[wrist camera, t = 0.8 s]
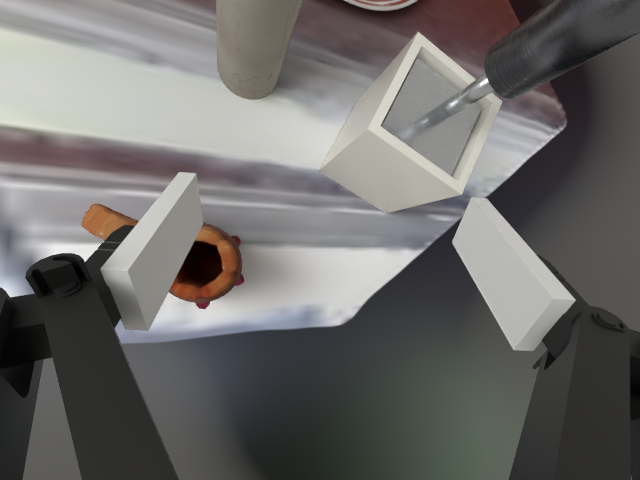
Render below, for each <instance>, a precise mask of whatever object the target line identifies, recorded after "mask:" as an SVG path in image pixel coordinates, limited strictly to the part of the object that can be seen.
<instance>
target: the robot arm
mask: <svg viewBox="0 0 640 480" xmlns="http://www.w3.org/2000/svg"><path fill="white" fill-rule="evenodd" d="M202 225H203V217H202V210H201V203H200V196H199V189H198V181H197V174H196V173H184V172H179V173H178V174H177V175H176V177H175V178H174V179H173V180H172V182H171V183H170V184H169V185H168V187H167V188H166V189H165V190H164V191H163V193H162V194H161V195H160V196H159V198H158V199H157V200H156V201H155V202H154V204H153V205H152V206H151V207H150V209H149V210H148V211H147V212H146V214H145V215H144V216H143V217H142V218H141V220H140V221H139V222H138V223H137V225H136V226H134V225H123V226H122V227H120V228H118V229H117V230H115V231H113V232H112V233H111V234H110V235H109V236H108V237H107V238H106V240H105V241H104V243H102V244H101V245H100V246H99V247H98V250H96V251H95V252H94V253H93V254H92V255H91V256H90V257H89V259H88V260H87V261H86V262H84V260H83V259H82V258H81V257H80V256H79V255H76V254H72V253H62V254H57V255H52V256H49V257H47V258H44V259H41V260H40V261H38V262H36V263H35V264H33V265H32V266H31V267H30V268H29V269H28V270H27V272H26V277H25V278H26V279H27V281H28V282H29V284H30V286H31V287H32V289H33V291H34V292H35V294H30V295H24V296H17V297H11V298H10V297H9V295H8V294H7V292H6V291H5V290H3V289H2V288H0V480H22V479H23V473H24V467H25V461H26V455H27V450H28V444H29V439H30V433H31V428H32V422H33V416H34V411H35V405H36V399H37V394H38V388H39V382H40V377H41V371H42V365H43V359H47V358H51V357H53V361H54V365H55V369H56V373H57V377H58V382H59V386H60V390H61V394H62V398H63V402H64V407H65V410H66V415H67V419H68V423H69V427H70V431H71V436H72V439H73V444H74V448H75V452H76V456H77V460H78V465H79V469H80V473H81V477H82V480H179V479H178V476H177V474H176V472H175V469H174V467H173V465H172V462H171V460H170V457H169V455H168V453H167V451H166V448H165V446H164V443H163V441H162V439H161V436H160V434H159V432H158V430H157V427H156V425H155V422H154V420H153V418H152V415H151V413H150V411H149V408H148V406H147V404H146V401H145V399H144V397H143V394H142V392H141V390H140V388H139V385H138V383H137V380H136V378H135V376H134V373H133V371H132V369H131V366H130V364H129V362H128V359H127V357H126V355H125V352H124V350H123V348H122V345H121V343H120V341H119V338H118V336H117V333H116V331H115V329H114V328H115V327H116V325H117V324H118V322H119V320H120V319H121V321H122V323H123V325H124V328H125V329H126V330H145V331H148V330H149V328H150V327H151V325H152V323H153V321H154V319H155V317H156V315H157V313H158V311H159V309H160V307H161V305H162V303H163V301H164V299H165V297H166V295H167V293H168V291H169V290H170V288H171V286H172V284H173V282H174V280H175V278H176V276H177V274H178V272H179V270H180V268H181V266H182V264H183V262H184V260H185V258H186V256H187V254H188V253H189V251H190V249H191V247H192V245H193V243H194V241H195V239H196V237H197V235H198V233H199V231H200V229H201V227H202ZM452 243H453V245H454V247H455V248H456V250H457V252H458V253H459V255H460V257H461V259H462V261H463V262H464V264H465V266H466V268H467V269H468V271H469V273H470V274H471V276H472V278H473V280H474V281H475V283H476V285H477V287H478V289H479V290H480V292H481V294H482V296H483V297H484V299H485V301H486V303H487V304H488V306H489V308H490V310H491V311H492V313H493V315H494V317H495V318H496V320H497V322H498V324H499V325H500V327H501V329H502V331H503V332H504V334H505V336H506V338H507V339H508V341H509V343H510V345H511V346H512V348H513V350H523V351H534V349H535V348H536V347H537V346H538V345H539V343H540V342H541V341H543V343H544V344H545V346H546V347H547V349H548V350H547V351H546V352H545V353H544V354H543V355H542V356H541V357H540V359H539V360H538V361H537V362H536V363H535V364H534V366H533V368H534V369H536V368H537V367H538V366H540V367H539V371H538V374H537V378H536V381H535V385H534V389H533V392H532V396H531V400H530V404H529V407H528V411H527V415H526V418H525V422H524V425H523V429H522V433H521V437H520V440H519V444H518V448H517V451H516V455H515V459H514V462H513V466H512V470H511V474H510V477H509V480H631V477H632V480H640V332H637V331H634V330H631V329H628V327H627V326H626V325H625V324H624V322H623V321H622V320H620V319H619V318H618V317H617V316H615V315H614V314H612V313H610V312H608V311H606V310H604V309H601V308H598V307H593V306H589V305H588V304H587V303H586V302H585V301H584V300H583V298H582V297H581V296H580V295H579V294H578V293H577V292H576V291H575V290H574V288H572V287H571V285H570V284H569V283H568V282H566V281H565V279H564V278H563V276H562V275H561V274H559V272H558V271H557V270H556V269H555V268H554V267H553V266H552V264H551V263H550V262H548V261H547V260H545V259H544V258H542V257H541V256H540V255H536V254H535V253H534V252H533V251H532V250H531V249H530V247H529V246H528V245H527V244H526V243H525V242H524V241H523V240H522V238H521V237H520V236H519V235H518V234H517V233H516V231H515V230H514V229H513V228H512V227H511V226H510V225H509V223H508V222H507V221H505V219H504V218H503V217H502V215H501V214H500V213H499V212H498V211H497V210H496V209H495V208H494V206H493V205H492V204H491V203H490V202H489V201H488V200H487V199H486V198H474V197H471V200H470V202H469V204H468V207H467V209H466V211H465V213H464V216H463V218H462V220H461V223H460V225H459V227H458V230H457V232H456V234H455V237H454V239H453V241H452Z"/></svg>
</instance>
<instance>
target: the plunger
mask: <svg viewBox="0 0 640 480" xmlns="http://www.w3.org/2000/svg"><path fill="white" fill-rule="evenodd" d="M639 33H640V0H552V1H551V2H549V3H548V4H547V5H545V6H544V7H543V8H541V9H540V10H539V11H538V12H536V13H535V14H534V15H532V16H531V17H530V18H528V19H527V20H526V21H525V22H523V23H522V24H521V25H519V26H518V27H517V28H515V29H514V30H513V31H512V32H510V33H509V34H508V35H506V36H505V37H504V38H502V39H501V40H500V41H499V42H497V43H496V44H495V45H493V46H492V47H491V48H490V49H489V51H488V52H487V55H486V58H485V74H484V75H482V76H481V77H479V78H478V79H476V80H475V81H474V82H472V83H471V84H469V85H468V86H466V87H465V88H463V89H462V90H460V91H459V90H458V89H457V88H455V87H454V86H453V85H452V84H450V83H449V82H448V81H447V80H445V79H444V78H443V77H442V76H441V75H439V74H438V73H437V72H436V71H434V70H433V69H432V68H431V67H429V66H428V65H427V64H426V63H424V62H423V61H422V60H421V59H419V58H418V57H417V58H416V59H415V60H414V62H413V64H412V66H411V68H410V70H409V71H408V73H407V75H406V77H405V79H404V81H403V83H402V85H401V87H400V89H399V91H398V93H397V95H396V97H395V99H394V101H393V103H392V104H391V106H390V108H389V110H388V112H387V114H386V116H385V118H384V120H383V122H382V124H381V127H382V128H384V129H385V130H387V131H388V132H389V133H391V134H392V135H394V136H395V137H396V138H398V139H399V140H401V141H402V142H403V143H405V144H406V145H408V146H409V147H410V148H412V149H413V150H415V151H416V152H417V153H419V154H420V155H422V156H423V157H425V158H426V159H427V160H429V161H430V162H432V163H433V164H434V165H436V166H437V167H439V168H440V169H441V170H443V171H444V172H446V173H447V174H448V175H450V176H451V175H452V173H453V170H454V168H455V166H456V164H457V162H458V159H459V157H460V155H461V153H462V150H463V148H464V146H465V144H466V142H467V139H468V137H469V135H470V133H471V131H472V128H473V126H474V124H475V122H476V119H477V117H478V115H479V113H480V111H481V108H480V107H479V106H478V105H477V104H475V102H476V101H478V100H480V99H481V98H483V97H485V96H486V95H488V94H490V93H491V92H493V91H495V92H497V93H498V94H499V95H500V96H502V97H504V98H508V99H515V98H518V97H520V96H522V95H523V94H525V93H527V92H529V91H531V90H533V89H535V88H537V87H539V86H540V85H542V84H544V83H546V82H548V81H550V80H552V79H554V78H556V77H557V76H559V75H561V74H563V73H565V72H567V71H569V70H570V69H572V68H574V67H576V66H578V65H580V64H582V63H584V62H585V61H588V60H589V59H591V58H593V57H595V56H597V55H599V54H601V53H603V52H604V51H606V50H608V49H610V48H612V47H614V46H616V45H618V44H620V43H621V42H623V41H625V40H627V39H629V38H631V37H633V36H635V35H637V34H639Z"/></svg>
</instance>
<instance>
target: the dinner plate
mask: <svg viewBox="0 0 640 480" xmlns="http://www.w3.org/2000/svg"><path fill="white" fill-rule="evenodd" d="M344 1H346V2H348V3H350V4H352V5H355V6H358V7H361V8H365V9H369V10H376V11H390V10H397V9H401V8H404V7H406V6H409V5H411V4H413V3H414V2H416V1H417V0H344Z"/></svg>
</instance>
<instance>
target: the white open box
mask: <svg viewBox="0 0 640 480" xmlns="http://www.w3.org/2000/svg"><path fill="white" fill-rule="evenodd" d="M417 57H418V58H419V59H421V60H422V61H423V62H424V63H426V64H427V65H428V66H429V67H431V68H432V69H433V70H434V71H436V72H437V73H438V74H439V75H441V76H442V77H443V78H444V79H445V80H447V81H448V82H449V83H450V84H452V85H453V86H454V87H455V88H457V89H458V90H459V91H460V90H462V89H463V88H465V87H466V86H468V85H469V84H471V83H472V82H474V81H475V80H476V79H475V78H473V77H472V76H471V75H470V74H468V73H467V72H466V71H465V70H464V69H462V68H461V67H460V66H459V65H458V64H456V63H455V62H454V61H453V60H452V59H450V58H449V57H448V56H447V55H446V54H444V53H443V52H442V51H441V50H440V49H438V48H437V47H436V46H435V45H434V44H432V43H431V42H430V41H429V40H427V39H426V38H425V37H424V36H423V35H421V34H420V33H419V32H417V34H416V35H415V36H414V37H413V38H412V39H411V40H410V42H409V43H408V44H407V45H406V46H405V47H404V48H403V50H402V51H401V52H400V53H399V54H398V55H397V56H396V58H395V59H394V60H393V61H392V62H391V63H390V64H389V65H388V67H387V68H386V69H385V70H384V71H383V72H382V73H381V75H380V76H379V77H378V78H377V79H376V80H375V81H374V83H373V84H372V85H371V86H370V87H369V88H368V89H367V91H366V92H365V93H364V94H363V95H362V96H361V97H360V98H359V100H358V101H357V102H356V103H355V104H354V106H353V108H352V110H351V112H350V114H349V116H348V117H347V119H346V121H345V123H344V125H343V127H342V129H341V130H340V132H339V134H338V136H337V138H336V140H335V141H334V143H333V145H332V147H331V149H330V151H329V153H328V154H327V156H326V158H325V160H324V162H323V164H322V165H321V167H320V169H319V172H321V173H322V174H324V175H325V176H327V177H329V178H330V179H332V180H333V181H335V182H337V183H338V184H340V185H341V186H343V187H344V188H346V189H348V190H349V191H351V192H352V193H354V194H355V195H357V196H359V197H360V198H362V199H363V200H365V201H367V202H368V203H370V204H371V205H373V206H374V207H376V208H378V209H379V210H381V211H382V212H384V213H390V212H394V211H398V210H402V209H406V208H410V207H414V206H418V205H422V204H426V203H430V202H434V201H438V200H442V199H446V198H450V197H454V196H458V195H462V193H463V190H464V188H465V186H466V183H467V181H468V179H469V177H470V174H471V172H472V170H473V168H474V165H475V163H476V161H477V158H478V156H479V154H480V152H481V149H482V147H483V145H484V142H485V140H486V138H487V136H488V133H489V131H490V129H491V127H492V124H493V122H494V120H495V117H496V115H497V113H498V111H499V108H500V106H501V104H502V101H501V100H500V99H499V98H497V97H496V96H495V95H494V94H493V93H490V94H488V95H486V96H485V97H483V98H481V99H480V100H478V101H476V102H475V104H477V105H478V106H479V107H480V108H481V111H480V113H479V115H478V117H477V119H476V122H475V124H474V126H473V128H472V131H471V133H470V135H469V137H468V139H467V142H466V144H465V146H464V148H463V150H462V153H461V155H460V157H459V159H458V162H457V164H456V166H455V168H454V170H453V173H452V175H451V176H450V175H448V174H447V173H446V172H444V171H443V170H441V169H440V168H439V167H437V166H436V165H434V164H433V163H432V162H430V161H429V160H427V159H426V158H425V157H423V156H422V155H420V154H419V153H417V152H416V151H415V150H413V149H412V148H410V147H409V146H408V145H406V144H405V143H403V142H402V141H401V140H399V139H398V138H396V137H395V136H394V135H392V134H391V133H389V132H388V131H387V130H385V129H384V128H382V127H381V124H382V122H383V120H384V118H385V116H386V114H387V112H388V110H389V108H390V106H391V104H392V103H393V101H394V99H395V97H396V95H397V93H398V91H399V89H400V87H401V85H402V83H403V81H404V79H405V77H406V75H407V73H408V71H409V70H410V68H411V66H412V64H413V62H414V60H415V59H416V58H417Z"/></svg>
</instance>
